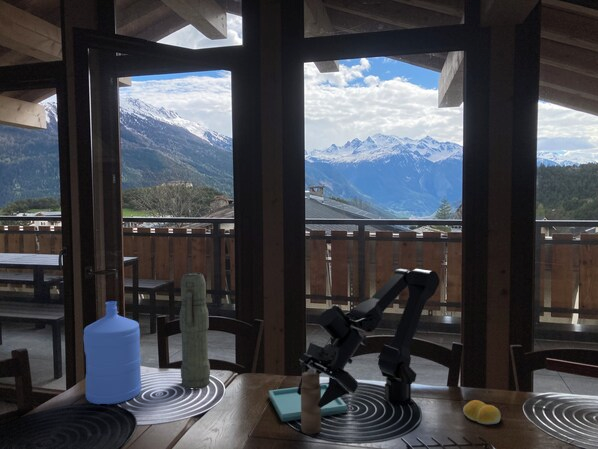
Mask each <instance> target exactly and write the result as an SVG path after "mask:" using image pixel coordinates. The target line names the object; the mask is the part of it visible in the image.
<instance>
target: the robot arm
mask: <svg viewBox="0 0 598 449" xmlns="http://www.w3.org/2000/svg"><path fill="white" fill-rule="evenodd" d="M439 286H440V278H439V274H438V273H437V272H436V271H434V270H430V269H428V270H427V269H424V268H423V269H422V268H415V269H413V270H410V269H405V268H397V269H395V271H394V272H393V275H392V276H391V277H390V278H389V279H388V280H386V282H385V283H384V284H383V285H382V286H381V287H380V288H379V289H378V290H377V291H376V292H375V293H374V294H373V295H372V296H371V297H370V298H368V300H365V301H364V300H363V301H362V302H360V303H358V304H357V305H355V306H354V307H352V308H351V310H350V311H347V312H345V313H344V311H343V310H342V308H341V307H340V306H339V305H336V304H333V305H332V307H331V308H328V309H326V310H325V311H323V312H321V313H320V315H319V317H318V320H317V323H318V325H319V326H320V327H321V328H322V329H323V330H324V331H325V333H326V334H328V335H329V337H330V338H331V339H334V340H335V341H334V342H333V343H332V344H331V343H328V344H325V345H324V346H322V345H319V344H316V343H314V342H311V341H310V342H309V345H308V347H307V349H306V350H307V351H306V352H304V353H302V355H301V356H300V357H299V361H300V365H301V369H302V373H301V375H302V374H303V373H304V372H307V371H308V370H309V369H313V370H314V372H317V373H319V374H320V375H321V374H322V373H323V374H324V375H327V376H328V387H327V389H326V391H325V392H324V394H323V396H322V397H321V399H320V401H319V403H318V407H319V408H322V407H323V406H325V405H327V404H328V403H330V402H332V401H334V400H335V399H337V398H339V397H340V398H341V397H343V396H346V395H349V394H350V393H351V394H355V392H356V391H357V389H358V387H359V385H358V384H359V382H358V381H357V380H356V379H355V377H353V376H352V375H351V374H350V373H349V372H348V371H347V370H344V368H345V367H346V365H347V364H350V365H351V364H352V363H353V359H352V357H353V355H354V354H355V352H356V351H357V349H358V347H359V346H360V344H361V345H363V346H365V347H367V346H368V340H367V335H366V334H364V333H361V332H360V331H363V332H366V333H372V332H374V331H375V330H376V329H377V327H378V326H379V324H380V323H381V322H382V319H383V314H384V312H385V311H386V309H387V308H388V307H389V306H390V305H391V304H392V303H393V302H394V301H395V300H396V299H397V298H398V296H400V294H402V292H403V291H404V290H405V289H406V288H407V290H408V297H407V301H406V303H405V306H404V309H403V311H402V314H401V316H400V319H399V323H398V325H397V328H396V330H395V334H394V337H393V339H392V340H391V342H389V344H388V345H386V344H383V345H382V347H381V350H380V353H379V355H378V356H377V358H378V361H377V362H378V363H377V365H378V368H379V370H380V371H381V376H382V377H385V383H384V395H383V398H385V399H386V400H387V401H388V402H389V403H390V404H391V405H392V406H400V405H408V404H413V403H414V402H415V400H414V399H412V384H413V383H415V382H416V379H417V373H416V372H415V371H414V370H413V368H412V367H410V366H411V361H412V358H411V352H410V347H411V343H413V342H412V341H413V338H414V336H415V332H416V330H417V327H418V324H419V322H420V319H421V316H422V313H423V311H424V308H425V304H426V303H427V301H428V300H430V298H432V297H433V296H435V293H436V292H437V289H438V287H439ZM358 330H359V331H358ZM301 385H302V376H301V378H300V381H299V384H298V386H297V387H298V390H297V393H298V394H299V395H301Z"/></svg>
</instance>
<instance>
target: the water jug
mask: <svg viewBox="0 0 598 449" xmlns="http://www.w3.org/2000/svg"><path fill="white" fill-rule="evenodd" d="M104 304H105V316H103V317H102V318H100V319H98V320H96V321H94V322H92V323H91V324H89V325H87V326H85V328H84V329H83V338H82V339H83V346H84V354H85V368H86V374H85V391H84V392H85V399H86V400H87V401H88V402H89V403H91V404H95V405H100V404H107V405H113V404H114V405H115V404H120V403H125V402H127V401H129V400H132V399H133V398H136V397H137V396H138V395H139V394H140V393H141V391H142V379H141V378H142V377H141V374H142V373H141V364H142V363H141V362H142V359H141V357H142V356H141V348H140V347H141V345H140V344H141V343H140V342H141V340H140V339H141V331H140V330H141V329H140V324H139V322H138V321H137V320H133V319H130V318H127V317H124V316H121V315H118V306H117V304H118V301H115V300H111V301H106V302H105V303H104Z"/></svg>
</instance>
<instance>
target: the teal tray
mask: <svg viewBox="0 0 598 449" xmlns="http://www.w3.org/2000/svg"><path fill="white" fill-rule="evenodd" d="M320 385H321V397H322V396H323V394H324V392H325V391H326V389H327V387H328V385H329V383H322V384H321V383H320ZM298 387H299V386H296V387H288V388H287V387H286V388H279V389H271V390H268V398H269V399H270V401H271V402H270V403H271V404H272V405H273V407H274V409H275V411H276V413H277V415H278V416H279V419H280V420H281V422H282V423H283V422H291V421H298V420H301V395H299V394H298V393H297V390H298ZM346 413H348V406H347V404H346V402H344V401H343V399H342V398H341V397H339V398H337V399H335V400H334V401H332V402H330V403H328V404H327V405H325V406H323V407H322V408H321V417H325V416H332V415H339V414H346Z"/></svg>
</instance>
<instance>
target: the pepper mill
mask: <svg viewBox="0 0 598 449" xmlns="http://www.w3.org/2000/svg"><path fill="white" fill-rule="evenodd" d="M302 373H303V372H302ZM302 373H301V377H302V385H301V419H300V428H301V430H300V431H301V432H302V433H304V434H308V435H315V434H319V433H320V432H321V431H322V416H321V408H319V407H318V403H319V401H320V399H321V385H320V384H321V383H320V379H321V378H320V375H321V374H319V373H317V372H314V370H313V369H309V370H308V371H307V372H304V373H303V374H302Z"/></svg>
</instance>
